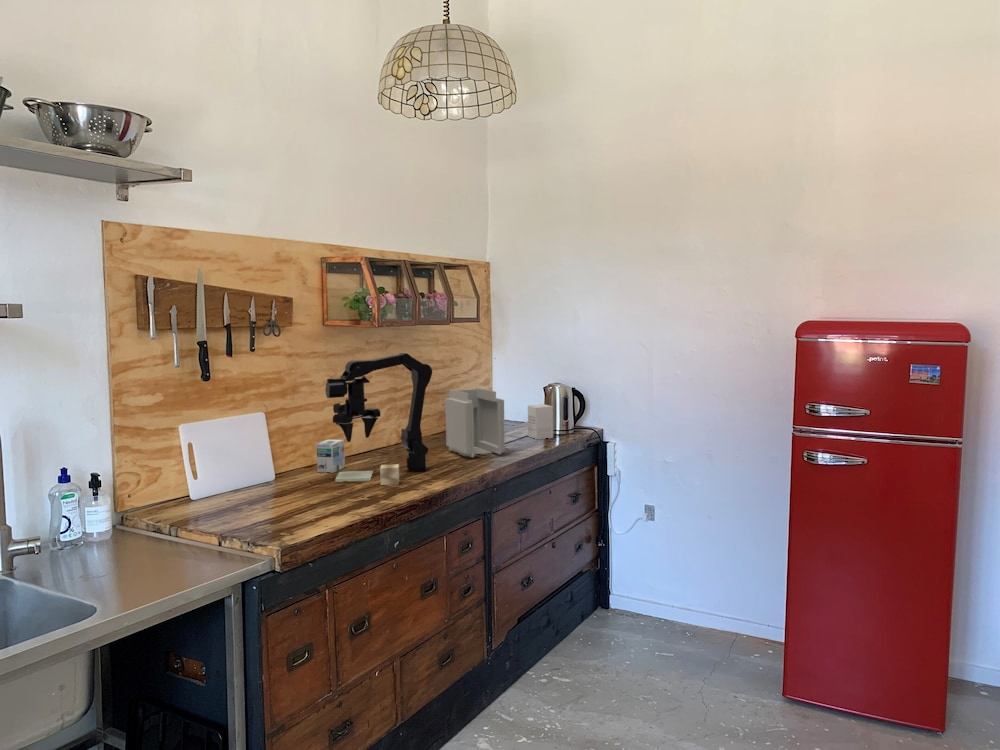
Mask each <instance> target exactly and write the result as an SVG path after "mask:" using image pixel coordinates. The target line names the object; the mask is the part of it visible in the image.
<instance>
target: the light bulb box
mask: <svg viewBox="0 0 1000 750" xmlns="http://www.w3.org/2000/svg"><path fill="white" fill-rule="evenodd" d="M345 452H346V451H345V440H344V439H334V438H333V439H332V438H331V439H330V438H329V439H325V440H323V441H321V442H318V443H316V460H317V462H316V463H317V465H316V467H317V473H327V472H330V474H331V473H333V474H334V473H336V472H338V471H340V470H342V468H343V469H345V468H346V461H345V460H346V457H345ZM344 467H345V468H344Z"/></svg>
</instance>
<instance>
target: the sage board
mask: <svg viewBox="0 0 1000 750" xmlns="http://www.w3.org/2000/svg"><path fill="white" fill-rule="evenodd" d="M372 474H374V470H354V471H353V470H351V471H350V470H349V471H339V472H338V473H337V475H336V477H335V479H334V480H335V481H334V482H335V483H340V482H341V483H344V482H343V481H348V482H371V481H370V480H372V478H373V475H372ZM371 477H372V478H371Z"/></svg>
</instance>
